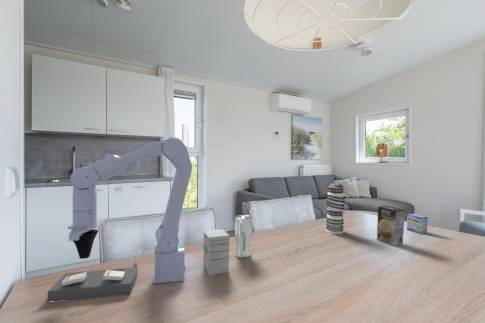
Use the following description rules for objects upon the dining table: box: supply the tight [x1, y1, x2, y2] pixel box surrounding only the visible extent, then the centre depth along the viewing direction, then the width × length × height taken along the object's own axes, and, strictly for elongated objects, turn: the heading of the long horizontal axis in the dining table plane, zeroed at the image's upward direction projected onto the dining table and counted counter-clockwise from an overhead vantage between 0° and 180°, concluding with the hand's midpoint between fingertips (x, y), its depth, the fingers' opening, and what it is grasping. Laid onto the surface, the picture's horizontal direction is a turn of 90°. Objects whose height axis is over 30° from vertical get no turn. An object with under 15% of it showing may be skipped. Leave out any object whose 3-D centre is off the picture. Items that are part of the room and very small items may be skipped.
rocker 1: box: [61, 271, 87, 286], centre depth 68 cm, size 5×3×1 cm, turn 103°
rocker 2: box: [103, 269, 125, 280], centre depth 70 cm, size 5×3×1 cm, turn 104°
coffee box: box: [376, 205, 406, 247], centre depth 113 cm, size 9×6×16 cm
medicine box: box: [406, 213, 429, 235], centre depth 131 cm, size 8×4×9 cm, turn 25°
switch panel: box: [47, 262, 138, 302], centre depth 75 cm, size 20×18×3 cm
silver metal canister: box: [234, 214, 253, 259], centre depth 96 cm, size 7×7×15 cm
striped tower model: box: [325, 182, 346, 235], centre depth 128 cm, size 9×9×25 cm
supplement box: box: [203, 228, 230, 276], centre depth 84 cm, size 7×7×13 cm
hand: (84, 257), depth 70 cm, fingers closed
